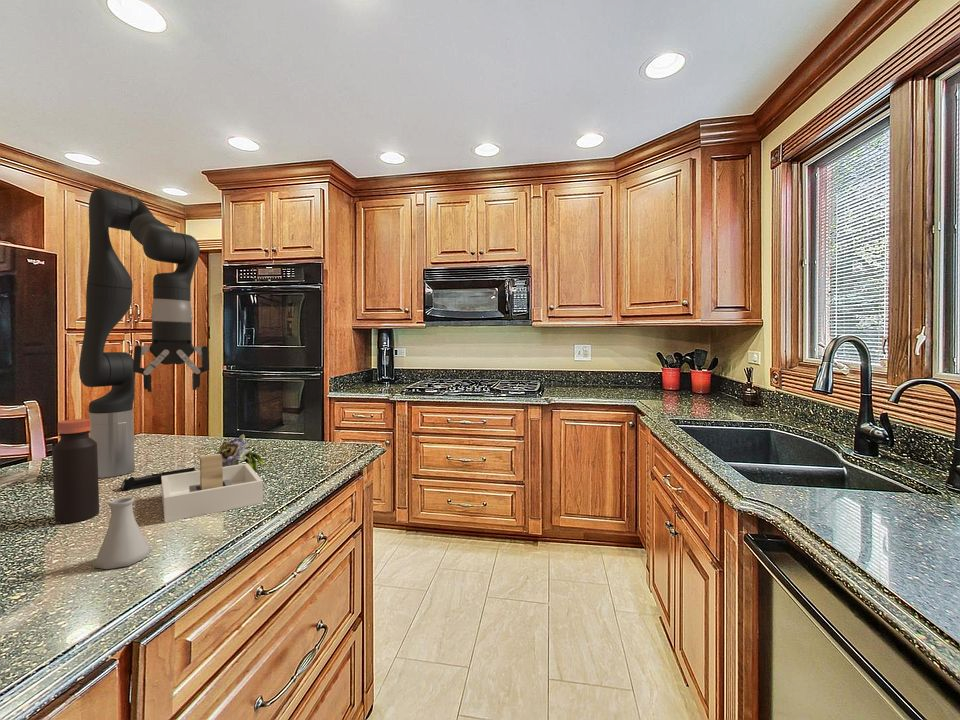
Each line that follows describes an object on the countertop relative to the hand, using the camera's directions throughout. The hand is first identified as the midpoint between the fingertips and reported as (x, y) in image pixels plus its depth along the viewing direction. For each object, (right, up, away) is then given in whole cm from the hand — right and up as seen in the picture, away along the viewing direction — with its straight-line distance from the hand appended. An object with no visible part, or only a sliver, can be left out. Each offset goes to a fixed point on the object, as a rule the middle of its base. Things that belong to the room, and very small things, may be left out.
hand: (172, 390), depth 101 cm
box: (+10, -25, -1) cm, 27 cm away
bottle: (-12, -26, -11) cm, 30 cm away
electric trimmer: (-11, -25, +11) cm, 30 cm away
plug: (+10, -24, -1) cm, 26 cm away
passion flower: (+3, -24, +23) cm, 33 cm away
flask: (+12, -26, -28) cm, 40 cm away
